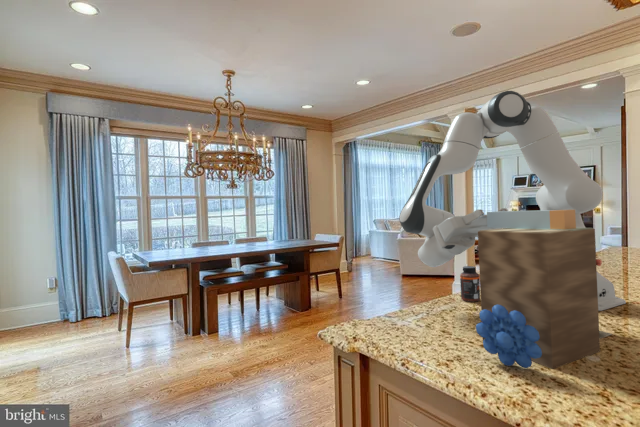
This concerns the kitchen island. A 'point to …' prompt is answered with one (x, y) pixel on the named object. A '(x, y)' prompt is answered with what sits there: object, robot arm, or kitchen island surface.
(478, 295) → the supplement bottle
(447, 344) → the kitchen island surface
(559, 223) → the grey and tan bar
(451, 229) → the robot arm
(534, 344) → the blue flower
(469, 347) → the kitchen island surface
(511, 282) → the tall wooden block
